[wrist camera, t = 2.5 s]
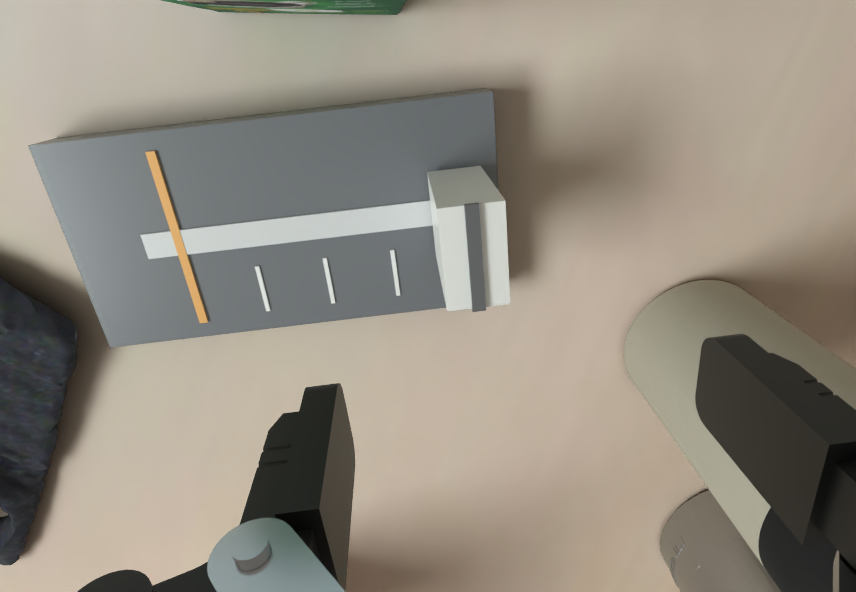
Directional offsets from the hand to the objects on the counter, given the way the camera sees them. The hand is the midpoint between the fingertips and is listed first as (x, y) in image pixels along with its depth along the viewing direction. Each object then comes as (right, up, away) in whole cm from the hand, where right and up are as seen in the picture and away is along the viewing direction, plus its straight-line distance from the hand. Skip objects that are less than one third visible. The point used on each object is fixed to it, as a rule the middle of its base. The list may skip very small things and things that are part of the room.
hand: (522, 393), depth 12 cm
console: (-9, +6, +15) cm, 19 cm away
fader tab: (-1, +6, +13) cm, 14 cm away
